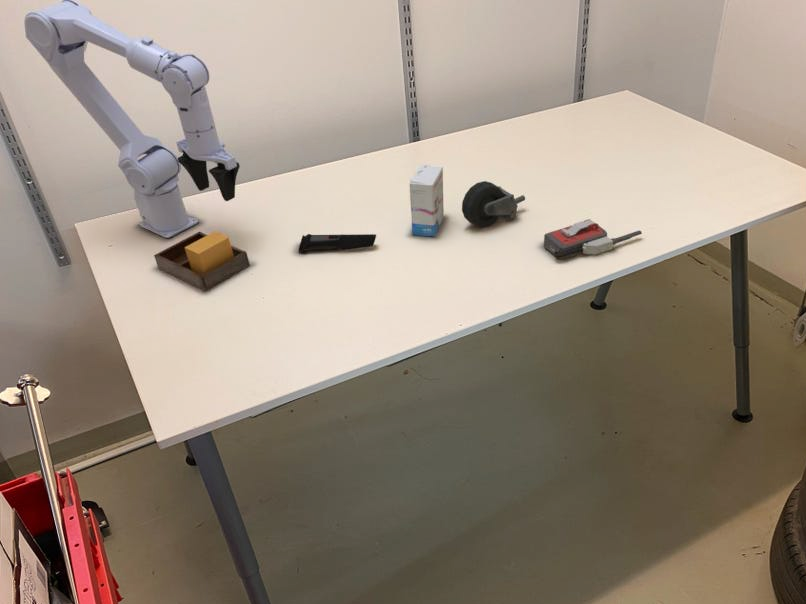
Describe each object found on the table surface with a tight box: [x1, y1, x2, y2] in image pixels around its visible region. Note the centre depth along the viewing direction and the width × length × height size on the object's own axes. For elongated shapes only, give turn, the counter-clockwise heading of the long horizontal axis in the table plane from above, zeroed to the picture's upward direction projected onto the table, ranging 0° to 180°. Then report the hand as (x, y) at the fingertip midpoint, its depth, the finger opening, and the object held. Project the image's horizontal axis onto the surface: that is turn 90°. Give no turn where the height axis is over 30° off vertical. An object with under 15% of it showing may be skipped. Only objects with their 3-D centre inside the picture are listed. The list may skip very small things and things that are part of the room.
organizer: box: [153, 231, 250, 292], centre depth 138 cm, size 14×11×3 cm
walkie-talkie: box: [543, 218, 642, 260], centre depth 143 cm, size 9×4×20 cm
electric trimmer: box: [297, 233, 377, 253], centre depth 143 cm, size 4×16×3 cm, turn 91°
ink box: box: [409, 164, 445, 238], centre depth 147 cm, size 8×5×12 cm, turn 168°
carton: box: [185, 231, 234, 276], centre depth 136 cm, size 4×7×6 cm, turn 145°
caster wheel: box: [461, 180, 526, 228], centre depth 149 cm, size 6×10×15 cm
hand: (216, 193), depth 142 cm, fingers open, 7 cm apart
